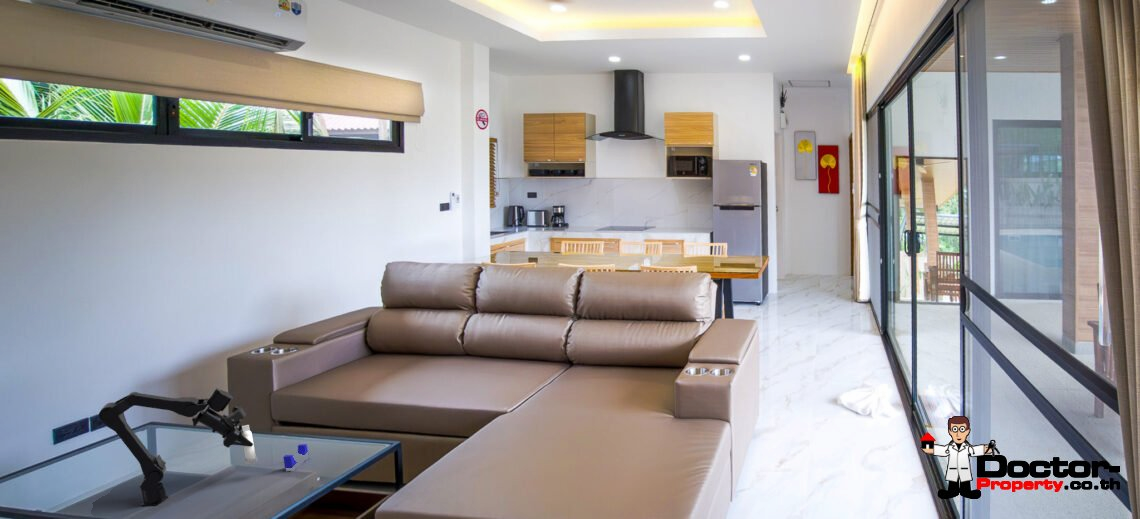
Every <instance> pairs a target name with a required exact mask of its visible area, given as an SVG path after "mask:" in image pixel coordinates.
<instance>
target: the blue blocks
mask: <svg viewBox="0 0 1140 519" xmlns="http://www.w3.org/2000/svg"><path fill="white" fill-rule="evenodd" d="M308 449H309V448H308V444H305V443H304V444H301V443H300V444H299V445H297V452H298V453H299V454H302V455H305V454H306V453H307V452H308V453H309V450H308ZM293 456H294V454H286V455H284V456H283V463H284V464H283V465H284V469H285V468H292V467H293V466H294V465H295V464H296V463H297V462H296V461H295V460H294V458H293Z"/></svg>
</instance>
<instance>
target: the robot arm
mask: <svg viewBox="0 0 1140 519" xmlns="http://www.w3.org/2000/svg"><path fill="white" fill-rule="evenodd" d="M233 399H234V397H233V396H232V395H231V394H230V393H229V392H227V391H225V390H222V389H219V388H217V387H216V388H215V389H214V391H213V392H212V394H211V395H210V397H209V398H197V397H194V396H193V397H192V396H185V397H167V396H160V395H153V394H148V393H147V394H146V393H140V392H137V391H132V392H130V393H129V394H127V395H126V396H123V397H121V398H119V399H118V400H116V401H114V402H108V403H106V404H105V405H104V406H103V407H102V408H101V409H100V411H99V413H98V419H99V421H100V422H101V423H103V425H105V427H107V428H109V429H110V430H112V431H113V432H114V433H116V434H117V436H118V437H119V438H120V439H121V441H122V442H123V444H124V445H125V446H126V448H127V449H128V450H129V451H130V452H131V454H132V455H133V456H134V458H135V459H136V460H137V462H138V464H139V465H140V469H141V472H142V474H143V478H142V481H141V483H140V485H139V488H140V490H141V496H142V500H143V502H141V504H140V506H141V507H147V506H150V505H151V506H158V505H160V504H162V503H163V502H164V501H166V499H168V498H169V495H166V489H165V487H164V484H163V482H161V481H163V478H164V476H165V473H166V470H167V464H166V463H167V462H166V461H164V460H163V458H162V457H161V455H160V454H158V455H157V456H155V455H153V454H151V452H150V451H149V450H148V448H146V446H145V445H144V444H143V442H142V441H141V440H140V438H139V437H138V435H137V434H136V433H135V432H134V430H133V428H131V426H130V425H129V424H128V422H127V419H126V417H125V416H126V415H125V412H127V411H128V410H129V409H130V408H132V407H134V406H137V407H144V408H150V409H151V408H152V409H156V410H164V411H170V412H173V413H175V414H177V415H179V416H181V417H182V416H183V417H186V418H191V421H192V426H193V427H196V426H197V424H198V423H200V424H202V425H203V426H205V427H207V428H209V429H211V432H212V433H214V434H215V433H217V434H219V435H220V436H221V438H223V440H222V442H223V446H224V447H225V448H227V449H230V447H231V446H240V447H241V446H243V447H244V446H250V447H251V446H252V445H253V443H254V442H253V443H252V442H251V441H249V440H248V439H247V438H246V437H245V436H243V435H242V433H243V431H242V426H243V423H241V422H242V420H243V419H245V418H246V417H247V413H246V412H245V411H244V408H243V407H241V406H237V405H235V406H234V407H232V409H231V411H232V412H230V414H228V415H226V414H220V412H224V411H225V409H226V408H227V407H228V406H229V404H230V403H231V401H232V400H233ZM239 423H240V425H239ZM143 505H144V506H143Z"/></svg>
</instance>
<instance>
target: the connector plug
mask: <svg viewBox="0 0 1140 519" xmlns="http://www.w3.org/2000/svg"><path fill="white" fill-rule="evenodd" d="M242 431H243V433H242V435H243V436H245V437H246V438H247V439H248V440H249V441H251V442H252V443H253V445H252V446H251V447H250V446H243V449H244V450H243V451H244V454H245V455H244V456H245V460H244V464H245V466H246V465H250V464H255V463H258V456H257V455H256V451H255V450H256V449H255V444H254V439H253V438H254V436H253V433H252V431H251V430H250V424H246V425H242Z"/></svg>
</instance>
